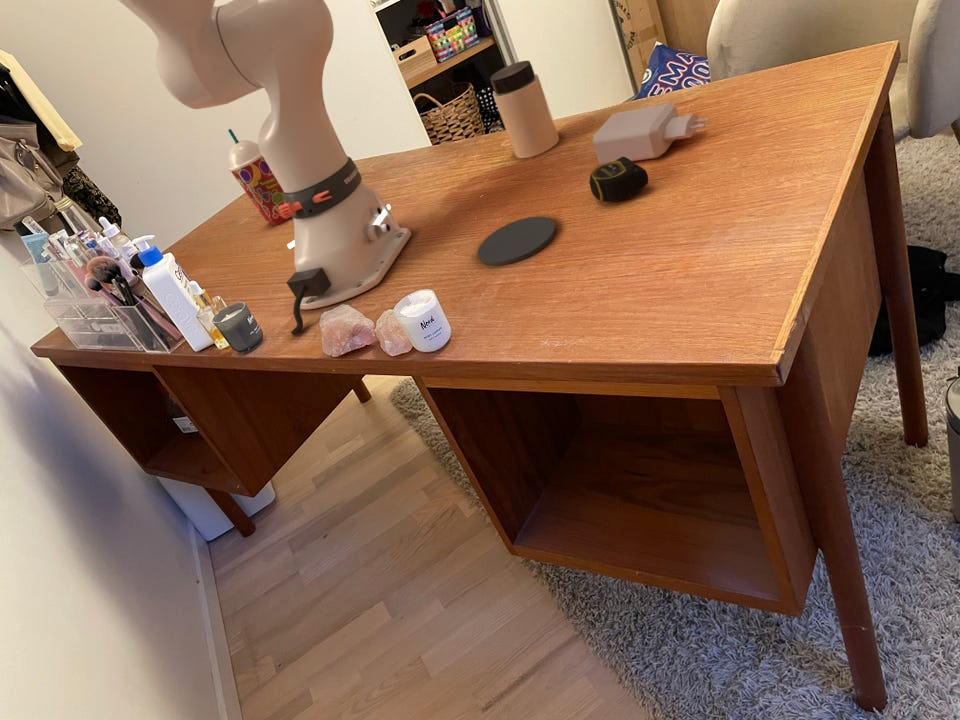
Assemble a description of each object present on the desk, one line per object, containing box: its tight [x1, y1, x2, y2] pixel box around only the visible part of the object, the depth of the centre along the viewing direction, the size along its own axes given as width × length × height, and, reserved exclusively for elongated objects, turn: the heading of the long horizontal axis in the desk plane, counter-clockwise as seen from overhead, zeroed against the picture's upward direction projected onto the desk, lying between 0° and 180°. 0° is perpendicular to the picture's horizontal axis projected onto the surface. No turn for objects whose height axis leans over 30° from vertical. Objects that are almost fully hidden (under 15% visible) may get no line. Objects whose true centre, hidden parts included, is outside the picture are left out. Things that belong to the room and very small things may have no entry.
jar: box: [492, 73, 560, 159], centre depth 115 cm, size 8×8×13 cm
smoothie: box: [227, 128, 292, 226], centre depth 139 cm, size 8×8×20 cm
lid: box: [489, 60, 535, 94], centre depth 112 cm, size 7×7×2 cm
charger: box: [592, 102, 710, 166], centre depth 97 cm, size 5×9×15 cm
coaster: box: [477, 216, 557, 266], centre depth 92 cm, size 11×11×1 cm
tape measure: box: [588, 157, 649, 203], centre depth 90 cm, size 7×7×4 cm
